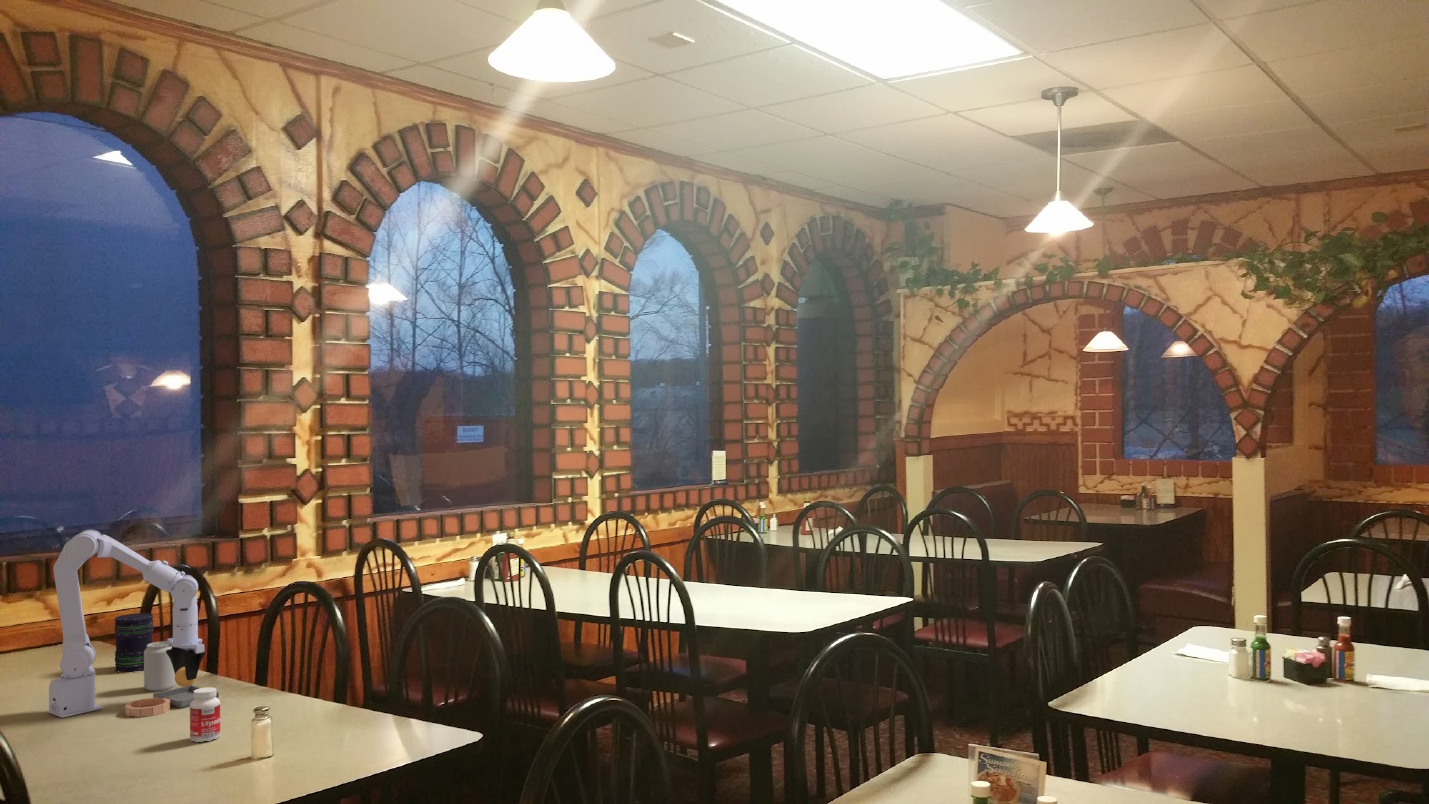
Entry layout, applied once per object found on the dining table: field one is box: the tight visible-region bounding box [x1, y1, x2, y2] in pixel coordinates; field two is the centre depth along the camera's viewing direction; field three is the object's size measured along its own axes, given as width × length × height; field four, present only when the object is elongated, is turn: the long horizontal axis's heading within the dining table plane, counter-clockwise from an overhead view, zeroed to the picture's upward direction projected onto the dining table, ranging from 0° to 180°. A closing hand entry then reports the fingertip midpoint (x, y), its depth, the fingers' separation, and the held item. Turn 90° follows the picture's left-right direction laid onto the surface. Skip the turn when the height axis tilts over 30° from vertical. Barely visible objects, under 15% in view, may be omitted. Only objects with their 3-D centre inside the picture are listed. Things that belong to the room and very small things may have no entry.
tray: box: [152, 684, 220, 710], centre depth 273 cm, size 10×13×2 cm
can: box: [143, 641, 177, 692], centre depth 285 cm, size 8×8×12 cm
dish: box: [124, 697, 171, 718], centre depth 263 cm, size 10×10×2 cm
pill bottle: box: [189, 686, 221, 743], centre depth 241 cm, size 6×6×11 cm
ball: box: [175, 667, 197, 687], centre depth 273 cm, size 5×5×5 cm
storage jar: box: [114, 612, 154, 673], centre depth 306 cm, size 10×10×15 cm
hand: (185, 677), depth 273 cm, fingers closed on ball, 5 cm apart
